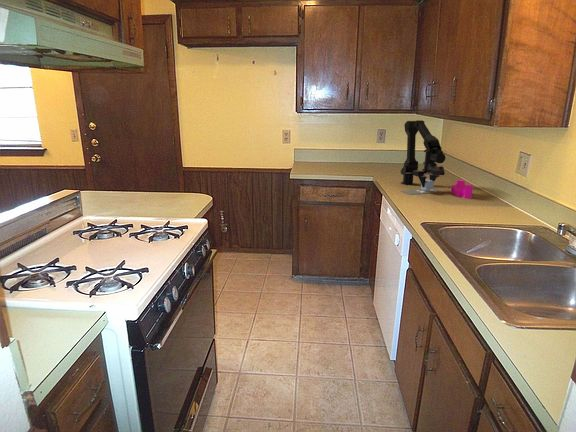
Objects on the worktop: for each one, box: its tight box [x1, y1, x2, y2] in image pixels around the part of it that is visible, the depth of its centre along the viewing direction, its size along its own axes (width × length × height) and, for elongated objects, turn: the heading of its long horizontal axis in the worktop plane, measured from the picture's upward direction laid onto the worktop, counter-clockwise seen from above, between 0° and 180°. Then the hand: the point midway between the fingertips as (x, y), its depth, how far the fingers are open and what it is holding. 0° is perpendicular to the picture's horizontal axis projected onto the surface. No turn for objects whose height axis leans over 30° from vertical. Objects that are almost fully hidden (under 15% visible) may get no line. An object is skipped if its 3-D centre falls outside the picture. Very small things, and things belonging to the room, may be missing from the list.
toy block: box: [450, 179, 474, 199], centre depth 222 cm, size 15×6×8 cm, turn 176°
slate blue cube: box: [420, 179, 435, 190], centre depth 231 cm, size 5×5×5 cm
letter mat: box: [400, 188, 443, 195], centre depth 231 cm, size 9×23×1 cm, turn 108°
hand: (427, 187), depth 232 cm, fingers closed on slate blue cube, 5 cm apart
